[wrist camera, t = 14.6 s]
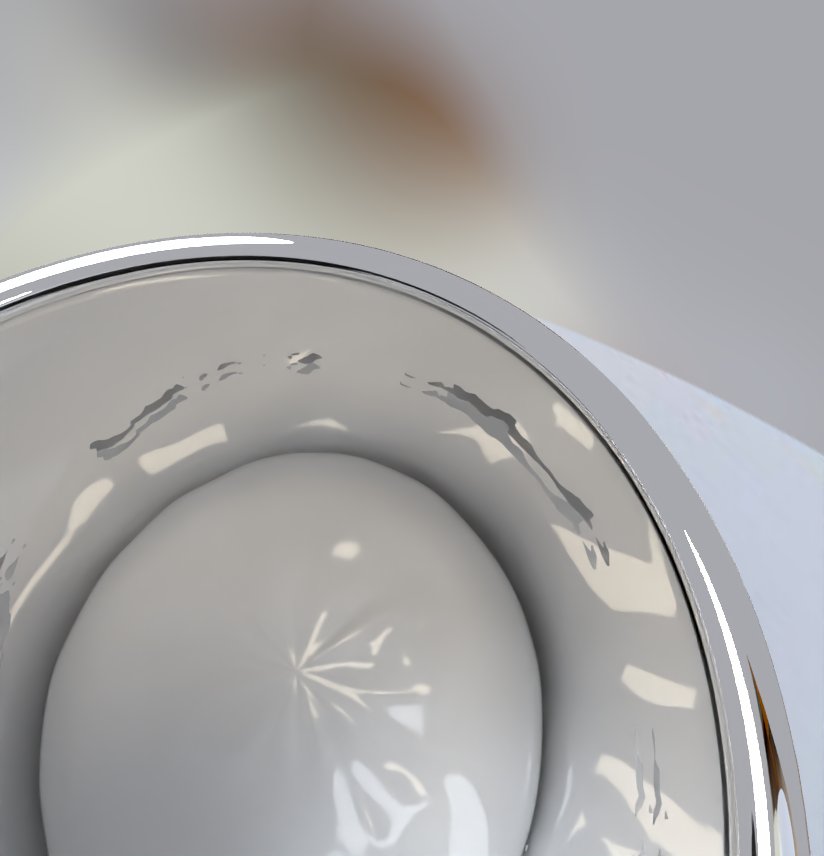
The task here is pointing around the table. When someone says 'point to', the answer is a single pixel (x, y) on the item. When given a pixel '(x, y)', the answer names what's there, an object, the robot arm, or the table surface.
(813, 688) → the table surface
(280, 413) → the silver metal cup
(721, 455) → the table surface
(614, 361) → the table surface
